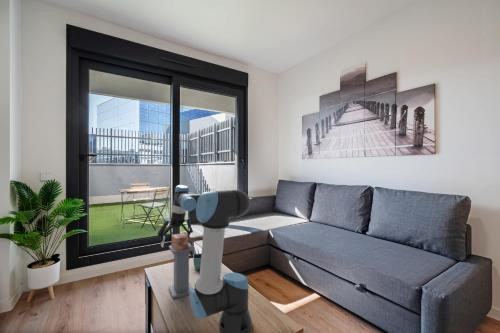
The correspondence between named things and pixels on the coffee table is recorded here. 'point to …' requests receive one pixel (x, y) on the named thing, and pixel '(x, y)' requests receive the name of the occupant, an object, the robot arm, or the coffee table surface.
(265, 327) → the coffee table surface
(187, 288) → the plinth
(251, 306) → the coffee table surface
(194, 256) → the flower pot
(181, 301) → the coffee table surface
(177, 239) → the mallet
